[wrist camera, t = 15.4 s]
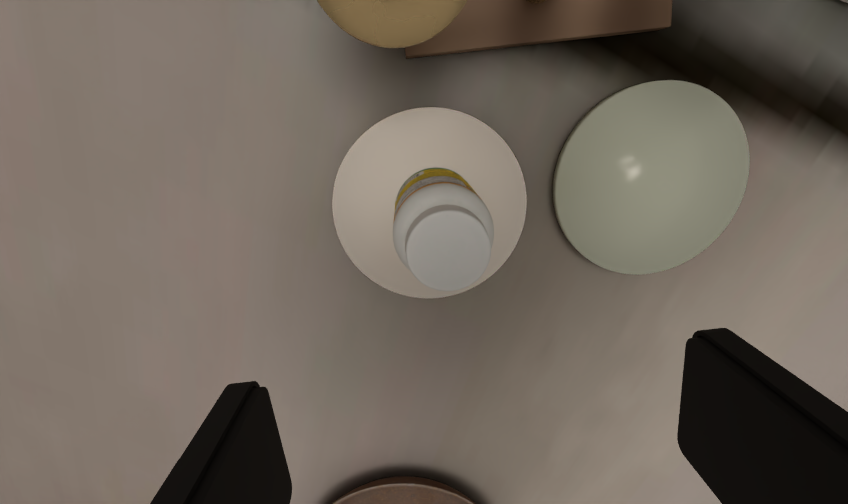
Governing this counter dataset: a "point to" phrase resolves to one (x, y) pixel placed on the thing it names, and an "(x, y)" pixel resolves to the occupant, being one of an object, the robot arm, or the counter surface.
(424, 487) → the plant saucer
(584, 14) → the brass balance
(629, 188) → the pale green dish
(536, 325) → the counter surface
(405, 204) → the supplement bottle
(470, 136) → the cream dish
